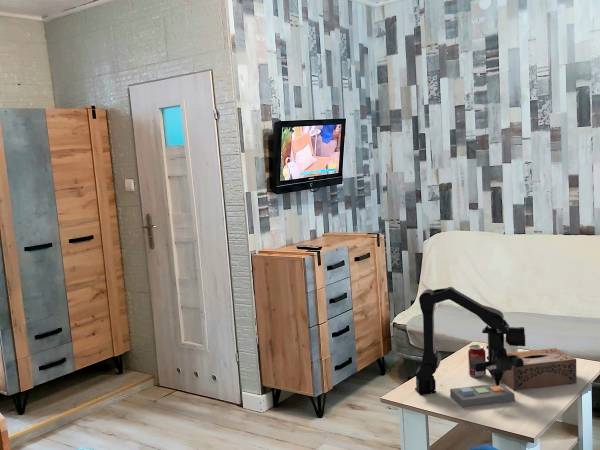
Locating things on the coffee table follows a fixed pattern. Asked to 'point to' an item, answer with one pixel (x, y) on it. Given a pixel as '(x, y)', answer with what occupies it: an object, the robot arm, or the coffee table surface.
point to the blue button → (466, 391)
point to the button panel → (482, 396)
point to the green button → (481, 390)
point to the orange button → (496, 389)
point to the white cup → (509, 347)
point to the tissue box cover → (541, 370)
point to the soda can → (476, 353)
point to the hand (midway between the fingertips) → (497, 385)
